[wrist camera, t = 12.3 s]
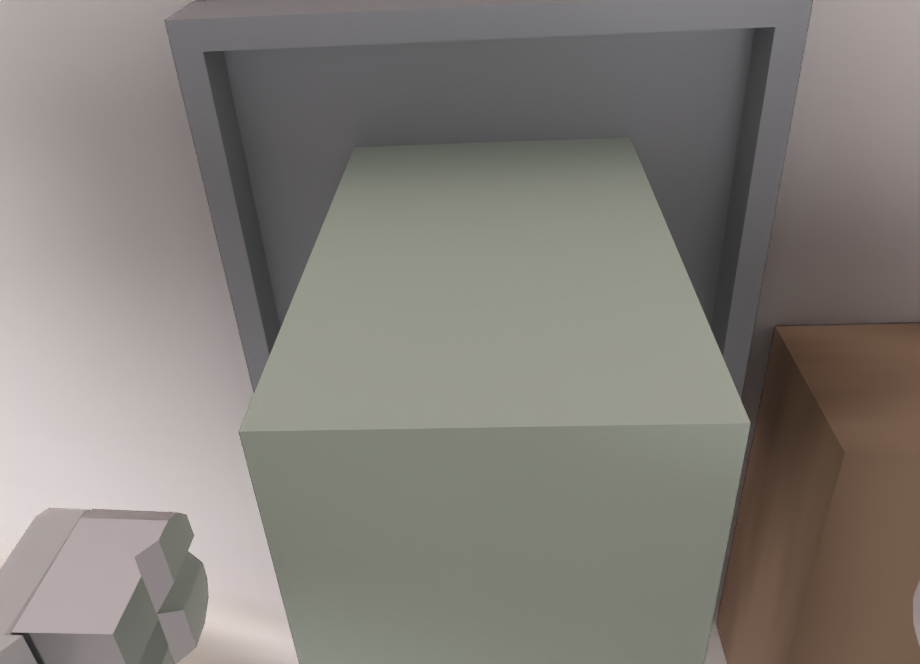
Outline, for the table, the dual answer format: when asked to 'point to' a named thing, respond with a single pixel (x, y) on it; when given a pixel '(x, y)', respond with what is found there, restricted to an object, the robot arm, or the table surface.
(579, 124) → the charcoal tray
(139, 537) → the robot arm
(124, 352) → the table surface
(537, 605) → the plug block
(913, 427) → the walnut stand
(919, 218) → the table surface
